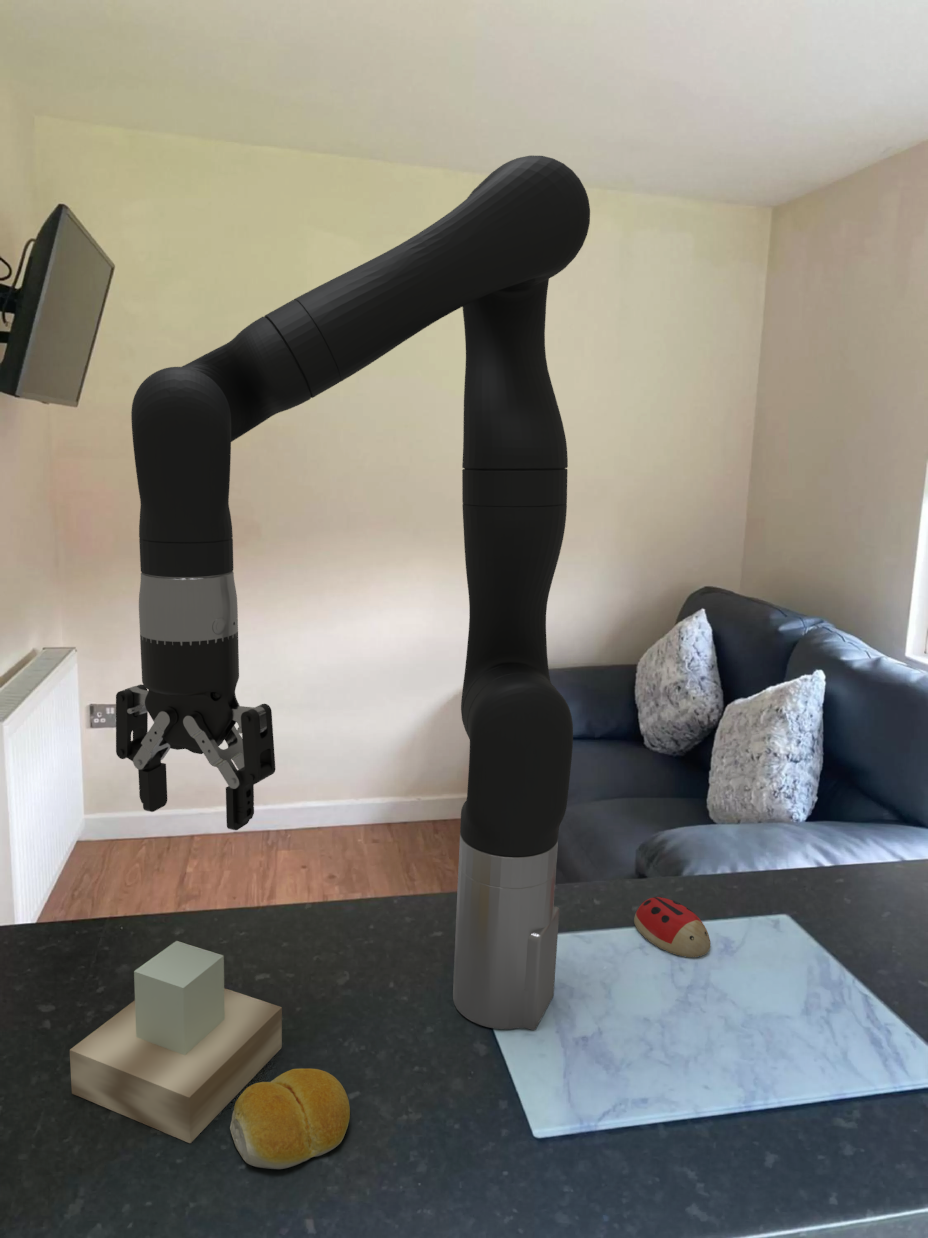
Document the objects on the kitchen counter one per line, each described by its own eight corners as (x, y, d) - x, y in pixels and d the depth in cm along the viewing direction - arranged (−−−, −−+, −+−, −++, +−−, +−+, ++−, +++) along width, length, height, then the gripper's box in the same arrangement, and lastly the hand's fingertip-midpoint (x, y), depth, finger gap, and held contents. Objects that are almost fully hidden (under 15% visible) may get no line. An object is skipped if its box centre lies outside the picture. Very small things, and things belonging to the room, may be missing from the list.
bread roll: (366, 1142, 67) (368, 1097, 67) (255, 1192, 62) (255, 1143, 62) (322, 1076, 74) (322, 1035, 73) (218, 1117, 69) (217, 1072, 68)
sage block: (224, 1019, 74) (223, 955, 73) (184, 1055, 70) (183, 988, 69) (177, 1003, 76) (176, 940, 75) (136, 1037, 72) (134, 971, 71)
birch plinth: (281, 1047, 77) (281, 1007, 76) (190, 1143, 66) (189, 1097, 65) (174, 1009, 82) (173, 971, 81) (71, 1093, 71) (69, 1050, 70)
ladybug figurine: (683, 969, 92) (686, 938, 91) (617, 925, 100) (619, 897, 99) (724, 950, 96) (728, 921, 95) (657, 910, 104) (660, 882, 103)
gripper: (291, 628, 71) (293, 815, 74) (151, 611, 76) (159, 787, 79) (234, 646, 64) (239, 852, 67) (85, 626, 69) (96, 818, 72)
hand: (195, 817), depth 73 cm, fingers open, 8 cm apart
